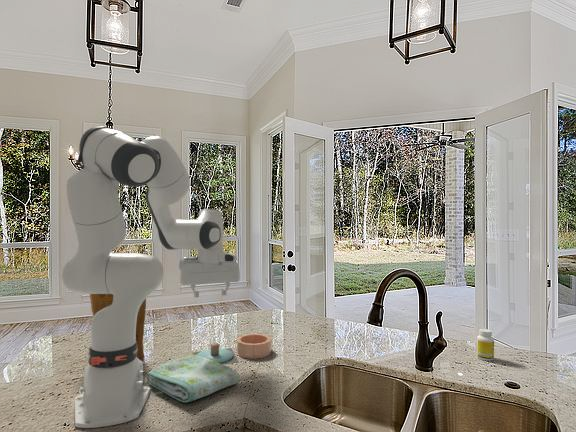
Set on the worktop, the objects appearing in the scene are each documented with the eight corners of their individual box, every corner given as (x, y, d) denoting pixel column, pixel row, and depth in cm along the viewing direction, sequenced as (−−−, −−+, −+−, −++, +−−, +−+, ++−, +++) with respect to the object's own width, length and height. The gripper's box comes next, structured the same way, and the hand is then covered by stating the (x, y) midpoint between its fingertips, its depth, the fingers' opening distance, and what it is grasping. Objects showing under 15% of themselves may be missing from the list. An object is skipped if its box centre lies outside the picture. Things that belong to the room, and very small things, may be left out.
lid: (236, 361, 129) (236, 348, 129) (198, 366, 125) (198, 352, 125) (229, 349, 141) (229, 337, 141) (194, 353, 137) (194, 340, 137)
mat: (239, 363, 129) (239, 362, 129) (195, 368, 124) (195, 367, 124) (231, 349, 142) (231, 348, 142) (192, 353, 138) (192, 352, 138)
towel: (195, 365, 126) (195, 349, 126) (241, 384, 113) (241, 367, 112) (144, 384, 112) (144, 366, 112) (189, 409, 99) (189, 389, 98)
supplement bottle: (496, 361, 132) (496, 333, 132) (479, 360, 133) (479, 332, 133) (491, 356, 138) (491, 328, 137) (474, 354, 139) (475, 327, 139)
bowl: (274, 357, 135) (274, 342, 135) (240, 360, 131) (240, 346, 131) (265, 345, 146) (265, 332, 146) (234, 349, 142) (234, 335, 142)
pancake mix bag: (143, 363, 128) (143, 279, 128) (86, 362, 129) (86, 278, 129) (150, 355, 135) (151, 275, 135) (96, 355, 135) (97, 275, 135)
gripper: (179, 258, 127) (179, 300, 127) (241, 256, 133) (241, 296, 134) (178, 256, 133) (178, 296, 133) (237, 254, 139) (237, 292, 140)
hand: (210, 296), depth 133 cm, fingers open, 8 cm apart
